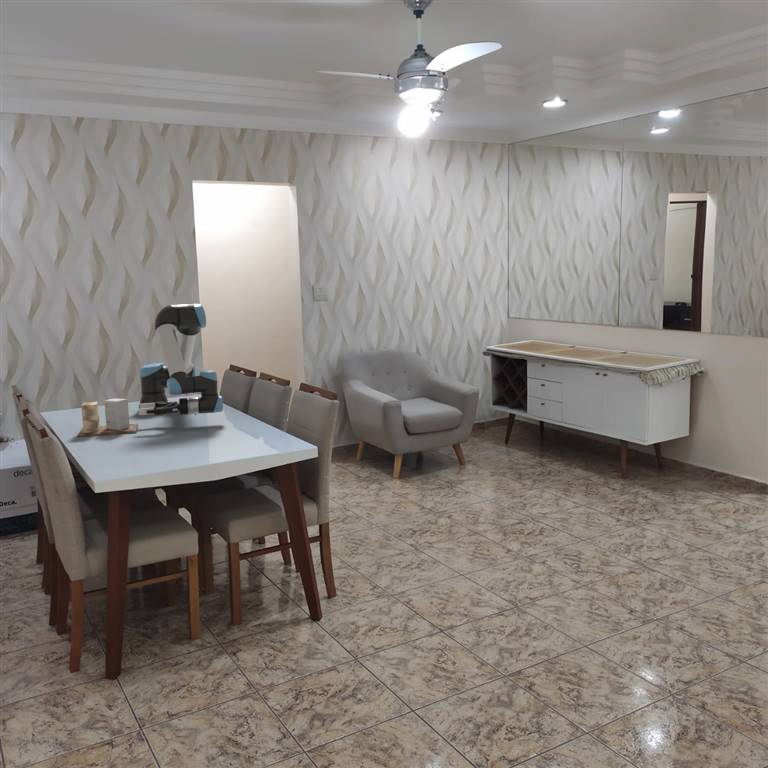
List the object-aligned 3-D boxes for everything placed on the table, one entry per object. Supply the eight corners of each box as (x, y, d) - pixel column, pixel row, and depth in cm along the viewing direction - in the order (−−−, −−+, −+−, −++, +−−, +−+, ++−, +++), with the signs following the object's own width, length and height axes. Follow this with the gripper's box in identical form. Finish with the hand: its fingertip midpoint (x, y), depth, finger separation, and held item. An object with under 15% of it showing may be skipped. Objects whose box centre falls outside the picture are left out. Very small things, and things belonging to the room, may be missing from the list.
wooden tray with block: (138, 425, 344) (136, 397, 342) (136, 433, 329) (134, 403, 327) (82, 429, 338) (79, 401, 336) (77, 437, 323) (75, 407, 321)
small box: (130, 427, 335) (128, 399, 333) (119, 430, 330) (117, 401, 328) (116, 426, 339) (114, 398, 337) (106, 429, 333) (103, 400, 331)
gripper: (189, 419, 330) (138, 422, 324) (188, 409, 353) (141, 412, 348) (188, 402, 328) (137, 405, 323) (187, 393, 352) (140, 396, 347)
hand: (139, 409), depth 336 cm, fingers open, 13 cm apart
